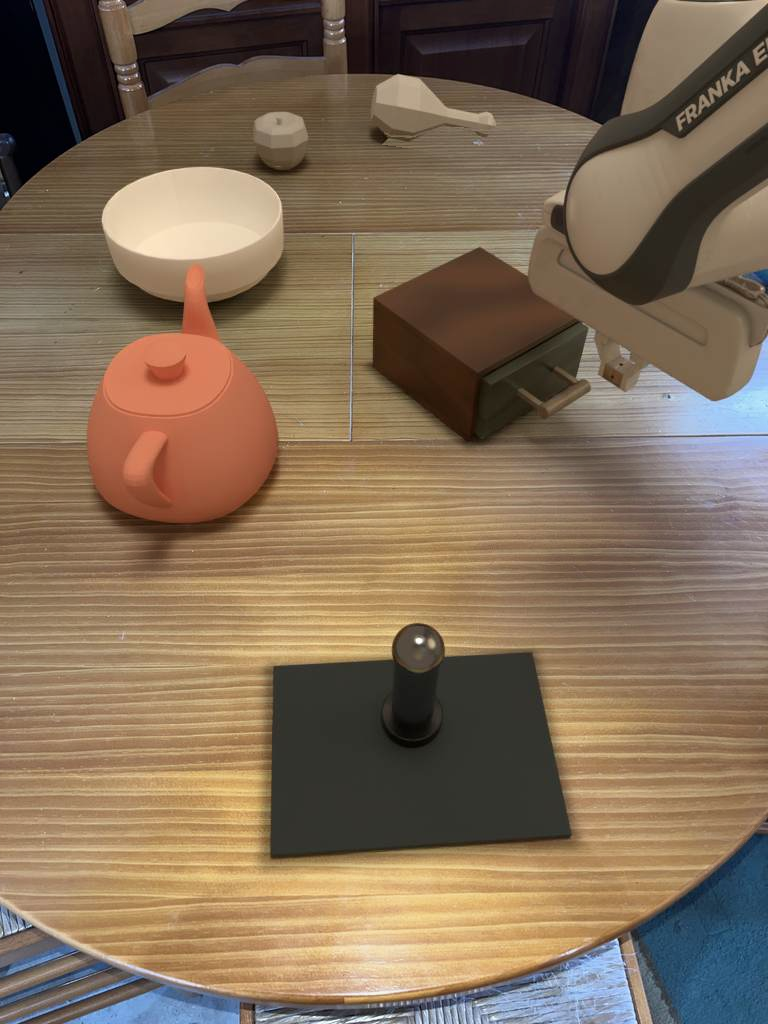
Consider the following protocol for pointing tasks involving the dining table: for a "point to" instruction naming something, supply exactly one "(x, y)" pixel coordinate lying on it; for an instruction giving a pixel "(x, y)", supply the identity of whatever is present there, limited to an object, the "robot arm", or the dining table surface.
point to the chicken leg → (418, 110)
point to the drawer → (533, 382)
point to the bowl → (195, 231)
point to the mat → (411, 760)
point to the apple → (280, 139)
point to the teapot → (181, 423)
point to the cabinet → (459, 332)
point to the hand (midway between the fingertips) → (616, 381)
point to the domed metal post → (414, 687)
